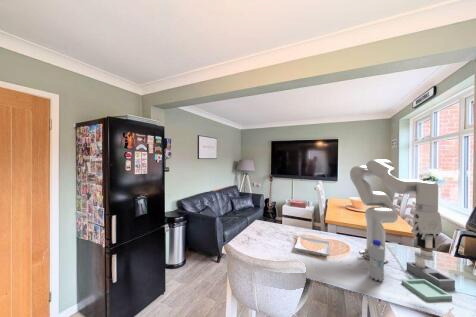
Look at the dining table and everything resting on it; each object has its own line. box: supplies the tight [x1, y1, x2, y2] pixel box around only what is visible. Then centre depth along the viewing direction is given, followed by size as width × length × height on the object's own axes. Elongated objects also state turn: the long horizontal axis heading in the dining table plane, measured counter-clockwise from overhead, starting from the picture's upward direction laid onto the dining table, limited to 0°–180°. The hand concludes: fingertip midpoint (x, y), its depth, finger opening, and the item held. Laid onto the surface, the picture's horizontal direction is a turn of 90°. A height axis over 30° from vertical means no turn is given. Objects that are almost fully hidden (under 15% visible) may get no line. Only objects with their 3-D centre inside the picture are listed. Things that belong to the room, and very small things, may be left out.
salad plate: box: [294, 236, 331, 257], centre depth 132 cm, size 21×21×3 cm
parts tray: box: [401, 278, 453, 302], centre depth 91 cm, size 12×12×2 cm
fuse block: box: [406, 261, 456, 290], centre depth 100 cm, size 17×8×4 cm, turn 4°
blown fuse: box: [420, 233, 434, 261], centre depth 90 cm, size 4×4×11 cm
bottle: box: [368, 240, 386, 283], centre depth 100 cm, size 7×7×20 cm
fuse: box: [414, 250, 426, 269], centre depth 105 cm, size 4×4×11 cm
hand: (426, 246), depth 91 cm, fingers closed on blown fuse, 4 cm apart
